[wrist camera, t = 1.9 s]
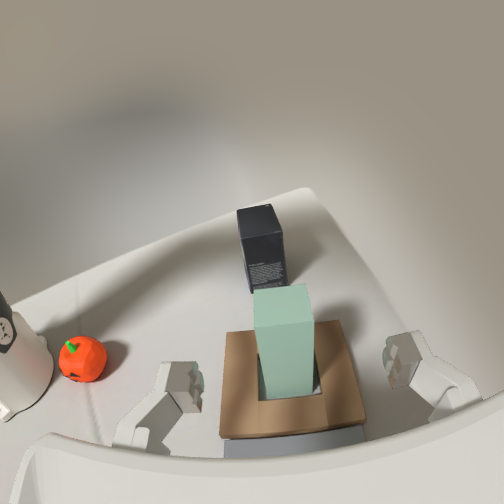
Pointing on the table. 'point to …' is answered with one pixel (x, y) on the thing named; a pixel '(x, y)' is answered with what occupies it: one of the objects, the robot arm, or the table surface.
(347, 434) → the rubber mat
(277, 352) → the green block
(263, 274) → the small box
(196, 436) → the table surface
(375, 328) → the table surface
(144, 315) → the table surface
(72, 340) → the pumpkin
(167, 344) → the table surface
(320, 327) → the pocket board
